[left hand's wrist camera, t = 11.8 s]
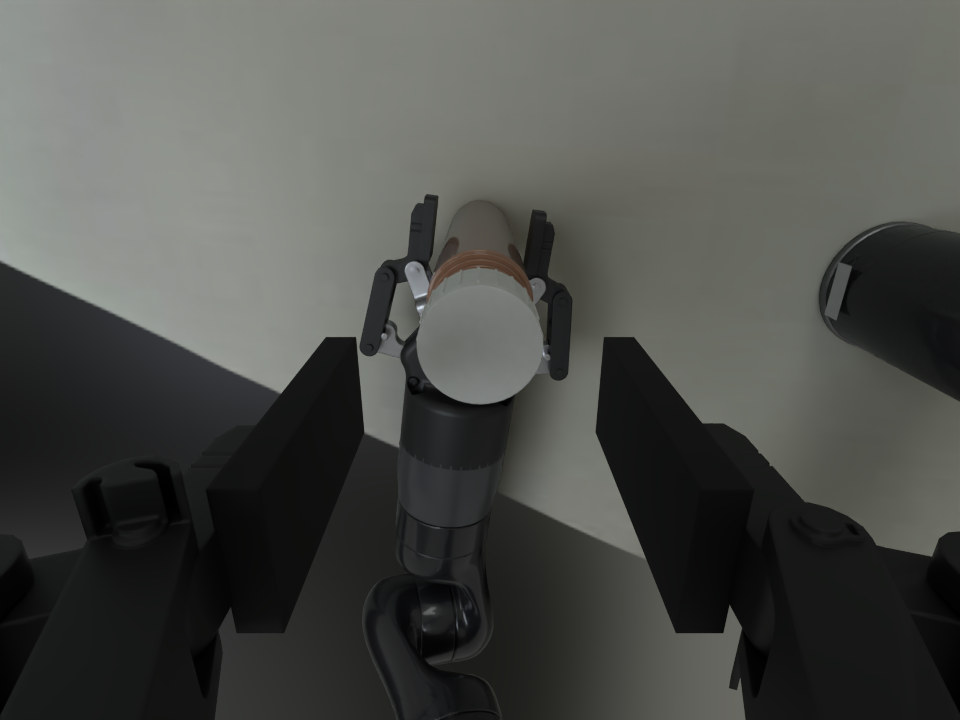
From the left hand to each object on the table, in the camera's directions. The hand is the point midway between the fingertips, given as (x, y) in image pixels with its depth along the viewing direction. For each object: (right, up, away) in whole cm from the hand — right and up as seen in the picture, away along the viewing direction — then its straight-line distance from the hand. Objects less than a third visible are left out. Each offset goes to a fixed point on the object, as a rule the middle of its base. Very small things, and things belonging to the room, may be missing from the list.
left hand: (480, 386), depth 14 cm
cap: (0, +1, +3) cm, 3 cm away
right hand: (0, +10, +19) cm, 21 cm away
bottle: (0, +10, +25) cm, 27 cm away
